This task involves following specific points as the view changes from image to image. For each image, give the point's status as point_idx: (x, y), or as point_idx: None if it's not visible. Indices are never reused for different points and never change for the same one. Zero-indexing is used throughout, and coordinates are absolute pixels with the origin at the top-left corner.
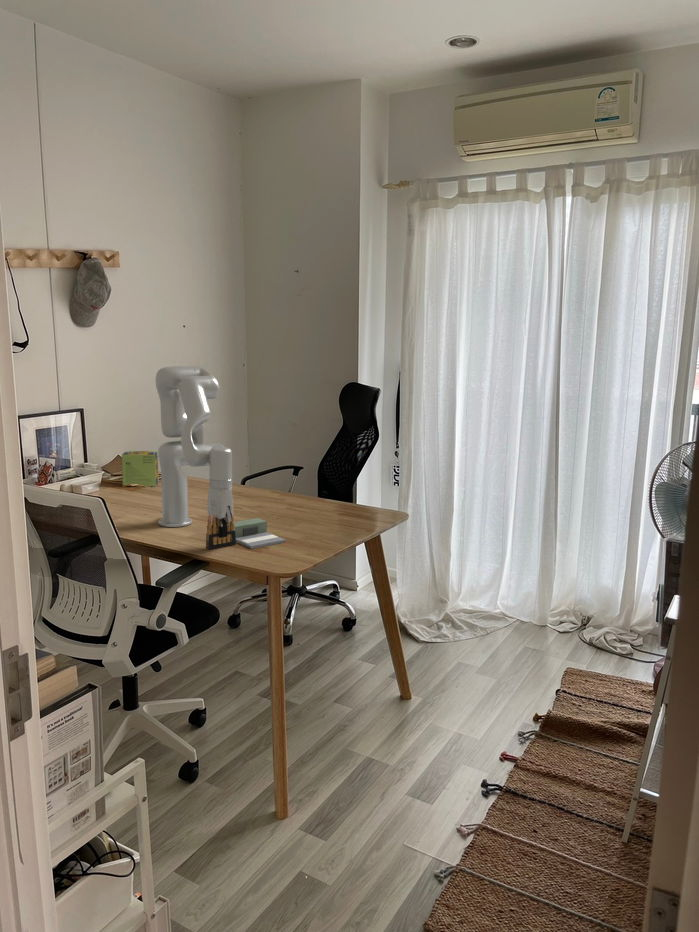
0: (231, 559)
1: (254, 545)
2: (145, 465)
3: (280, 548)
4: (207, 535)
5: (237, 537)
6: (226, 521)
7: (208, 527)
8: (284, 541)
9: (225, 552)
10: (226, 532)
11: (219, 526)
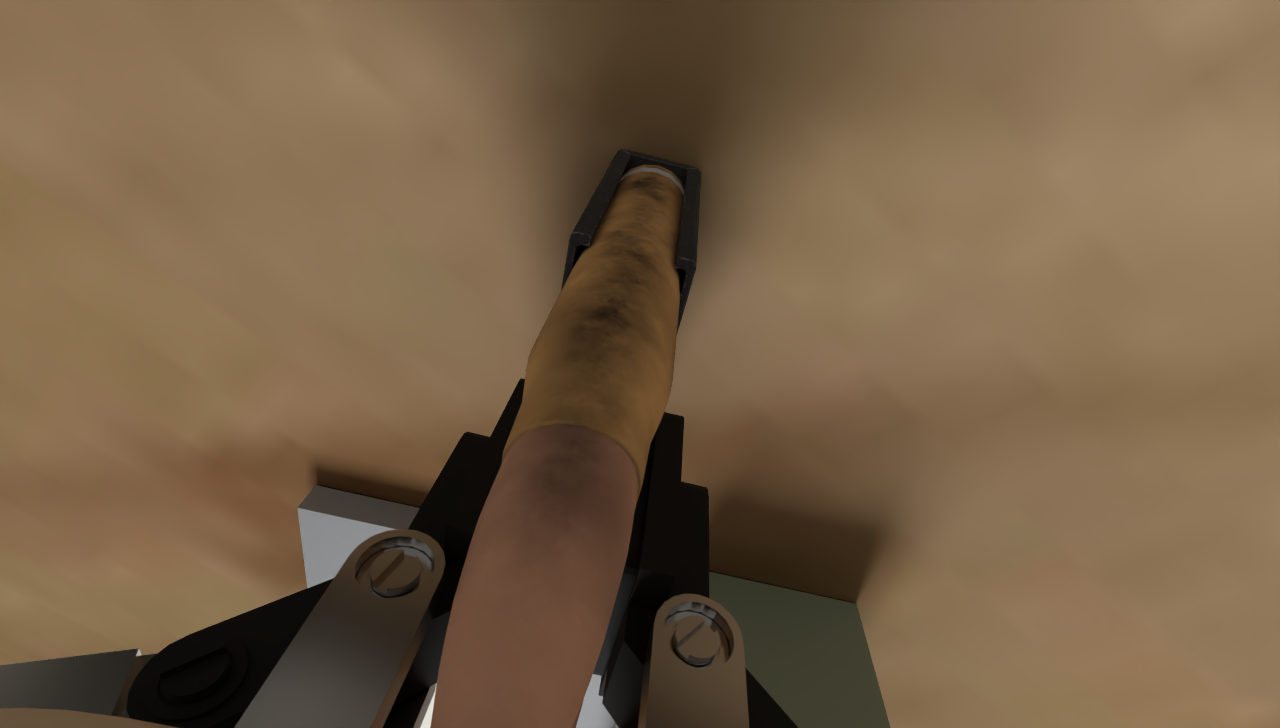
0: (3, 43)
1: (306, 538)
2: None
3: (205, 614)
4: (636, 231)
5: None
6: (59, 693)
7: (563, 320)
8: None
9: (361, 226)
10: None
11: (457, 538)
